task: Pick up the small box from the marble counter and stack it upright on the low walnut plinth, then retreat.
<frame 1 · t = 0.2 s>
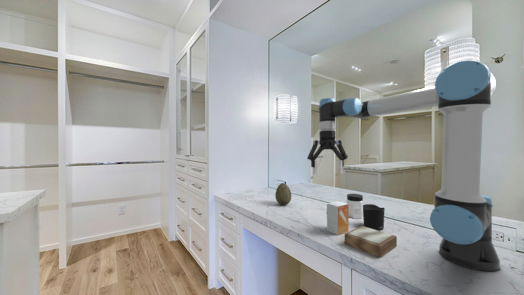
hand: (327, 173, 104), 26 cm above the counter, fingers open, 13 cm apart
pen holder: (373, 227, 103), on the counter
decorative egg: (283, 205, 143), on the counter
plinth: (370, 244, 85), on the counter
small box: (337, 231, 99), on the counter
jar: (354, 216, 119), on the counter
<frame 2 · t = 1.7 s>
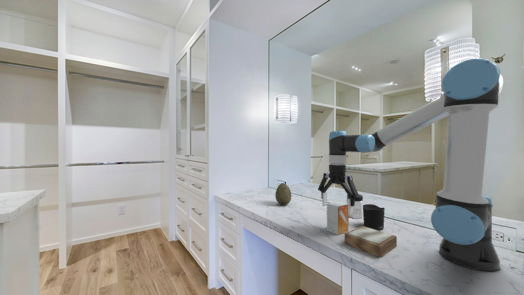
hand: (336, 209, 99), 10 cm above the counter, fingers open, 13 cm apart
nothing on the counter moved.
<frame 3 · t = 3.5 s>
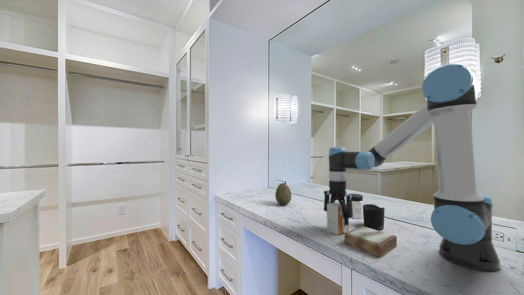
hand: (337, 228, 99), 1 cm above the counter, fingers closed on small box, 6 cm apart
small box: (337, 231, 99), on the counter, touching gripper
everything else where it was.
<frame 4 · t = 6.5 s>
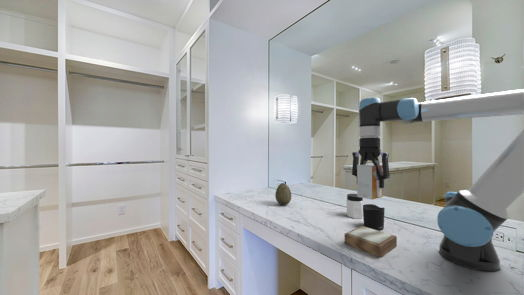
hand: (369, 194, 85), 20 cm above the counter, fingers closed on small box, 6 cm apart
small box: (370, 197, 85), point 19 cm above the counter, touching gripper
everything else where it was.
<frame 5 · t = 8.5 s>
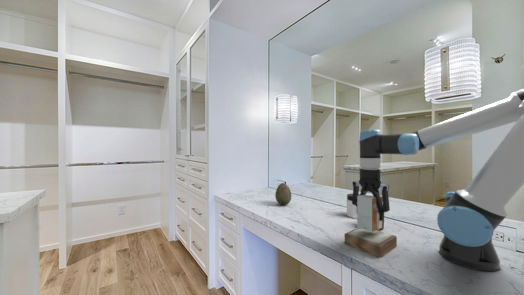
hand: (369, 225, 85), 8 cm above the counter, fingers closed on small box, 6 cm apart
small box: (370, 228, 85), point 7 cm above the counter, touching gripper
everything else where it was.
when the fingers open (6 cm above the counter, at t = 9.8 s): small box stays where it is, resting on plinth.
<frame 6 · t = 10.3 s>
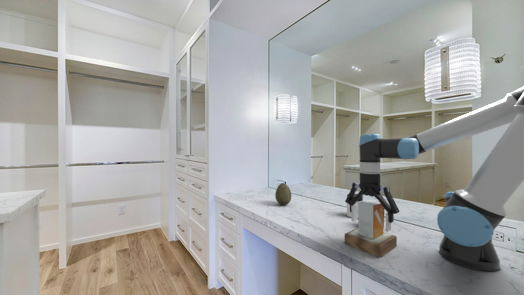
hand: (370, 225, 85), 8 cm above the counter, fingers open, 13 cm apart
small box: (370, 234, 85), point 4 cm above the counter, touching plinth
everything else where it was.
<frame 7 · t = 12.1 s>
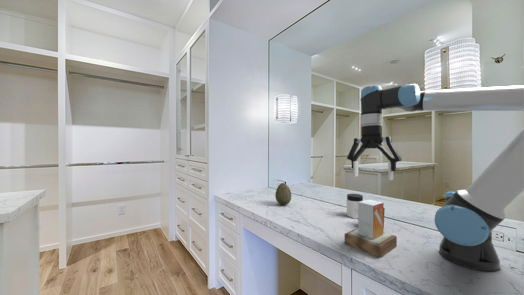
hand: (372, 178, 85), 27 cm above the counter, fingers open, 13 cm apart
nothing on the counter moved.
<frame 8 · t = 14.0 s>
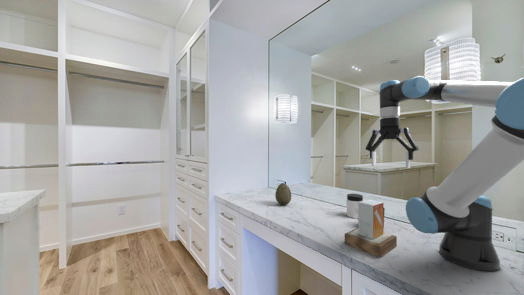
hand: (390, 166, 92), 31 cm above the counter, fingers open, 13 cm apart
nothing on the counter moved.
at the end: small box inside the target area on the plinth (0.3 cm from its centre), point 4.1 cm above the plinth's base; small box tilted 0°; the gripper is holding nothing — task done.
